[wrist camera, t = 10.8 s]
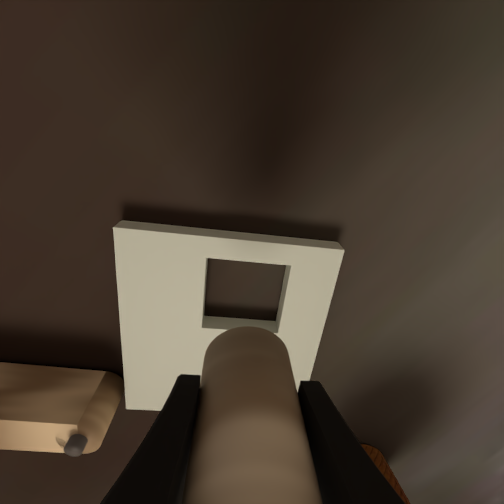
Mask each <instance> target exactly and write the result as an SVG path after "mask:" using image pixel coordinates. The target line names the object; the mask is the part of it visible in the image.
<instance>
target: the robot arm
mask: <svg viewBox="0 0 504 504" xmlns="http://www.w3.org/2000/svg"><path fill="white" fill-rule="evenodd" d="M200 378H201V375H189V374H181V375H179V376H178V377H177V379H176V382H175V384H174V386H173V388H172V390H171V392H170V394H169V396H168V398H167V400H166V402H165V404H164V406H163V408H162V409H161V411H160V413H159V415H158V417H157V418H156V420H155V422H154V423H153V425H152V427H151V428H150V430H149V432H148V433H147V435H146V437H145V438H144V440H143V442H142V443H141V445H140V446H139V448H138V449H137V451H136V452H135V454H134V455H133V457H132V458H131V460H130V461H129V463H128V464H127V466H126V467H125V469H124V470H123V472H122V473H121V475H120V476H119V478H118V479H117V481H116V482H115V483H114V485H113V486H112V488H111V489H110V490H109V492H108V493H107V495H106V496H105V497H104V499H103V500H102V502H101V503H100V504H182V497H183V491H184V485H185V478H186V472H187V465H188V459H189V452H190V446H191V439H192V433H193V428H194V422H195V417H196V411H197V404H198V397H199V391H200ZM298 397H299V402H300V406H301V410H302V415H303V419H304V424H305V428H306V432H307V437H308V441H309V445H310V450H311V454H312V459H313V463H314V467H315V472H316V476H317V480H318V485H319V489H320V493H321V498H322V502H323V504H406V503H405V502H404V501H403V500H402V498H401V497H400V496H399V495H398V493H397V492H396V491H395V490H394V488H393V487H392V486H391V484H390V483H389V482H388V481H387V479H386V478H385V477H384V475H383V474H382V473H381V471H380V470H379V469H378V467H377V466H376V465H375V463H374V462H373V461H372V459H371V458H370V457H369V455H368V454H367V452H366V451H365V449H364V448H363V447H362V445H361V444H360V442H359V441H358V440H357V438H356V437H355V435H354V434H353V432H352V431H351V429H350V428H349V427H348V425H347V424H346V422H345V421H344V419H343V418H342V416H341V414H340V413H339V411H338V410H337V408H336V407H335V405H334V404H333V402H332V401H331V399H330V397H329V396H328V394H327V393H326V391H325V389H324V388H323V386H322V385H321V383H320V382H319V381H302V380H301V381H300V385H299V389H298Z"/></svg>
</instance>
